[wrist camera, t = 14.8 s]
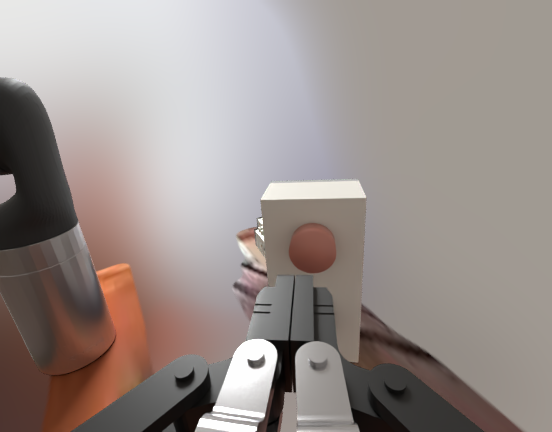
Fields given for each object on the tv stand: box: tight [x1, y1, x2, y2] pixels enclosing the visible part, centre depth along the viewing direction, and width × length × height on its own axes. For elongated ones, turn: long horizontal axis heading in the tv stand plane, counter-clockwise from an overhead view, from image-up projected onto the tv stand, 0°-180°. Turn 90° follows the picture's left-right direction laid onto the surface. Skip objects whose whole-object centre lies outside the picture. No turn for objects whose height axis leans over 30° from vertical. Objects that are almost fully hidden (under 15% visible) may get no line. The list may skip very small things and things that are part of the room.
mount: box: [261, 179, 366, 363], centre depth 35 cm, size 10×7×20 cm
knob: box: [289, 223, 336, 273], centre depth 31 cm, size 4×8×4 cm, turn 172°
